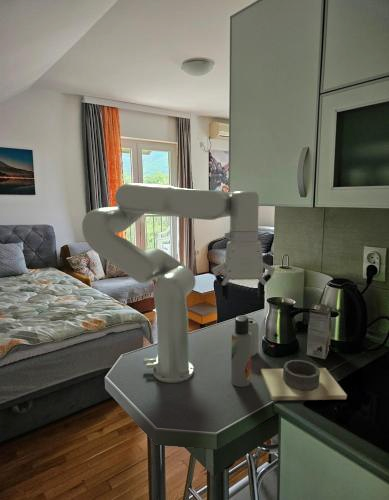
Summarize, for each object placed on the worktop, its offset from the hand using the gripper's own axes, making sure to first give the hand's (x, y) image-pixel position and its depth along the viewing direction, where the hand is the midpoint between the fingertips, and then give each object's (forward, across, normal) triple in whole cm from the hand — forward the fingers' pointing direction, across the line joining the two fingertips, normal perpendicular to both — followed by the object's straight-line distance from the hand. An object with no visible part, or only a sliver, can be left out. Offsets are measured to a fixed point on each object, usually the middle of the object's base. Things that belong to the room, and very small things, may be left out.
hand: (242, 297), depth 92 cm
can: (+26, +5, +18) cm, 32 cm away
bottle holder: (+26, +17, -2) cm, 31 cm away
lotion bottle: (+26, 0, 0) cm, 26 cm away
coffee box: (+26, +30, +18) cm, 43 cm away
